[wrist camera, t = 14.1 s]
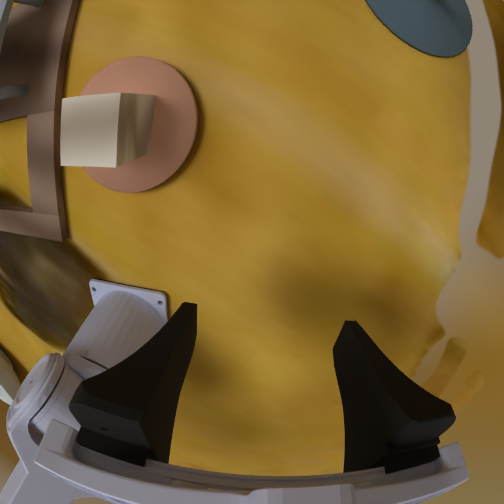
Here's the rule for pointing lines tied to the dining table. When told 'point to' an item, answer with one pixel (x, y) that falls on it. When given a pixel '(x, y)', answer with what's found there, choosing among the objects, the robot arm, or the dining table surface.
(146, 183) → the dish
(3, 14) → the grey miniature stool
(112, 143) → the block
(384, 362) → the robot arm
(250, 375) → the dining table surface
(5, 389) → the cereal bowl
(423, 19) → the cocktail glass
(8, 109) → the puzzle board
